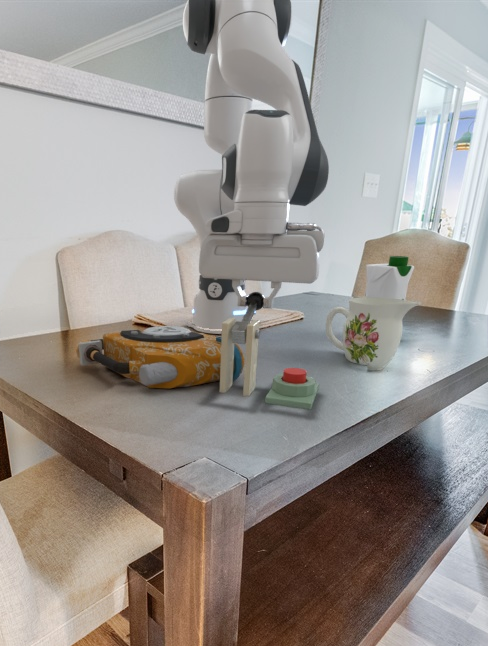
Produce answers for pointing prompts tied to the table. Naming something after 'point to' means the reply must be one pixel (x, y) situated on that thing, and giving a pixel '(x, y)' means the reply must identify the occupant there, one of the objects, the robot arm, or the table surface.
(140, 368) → the device
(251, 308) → the lever
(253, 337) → the bracket
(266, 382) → the table surface
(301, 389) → the button box
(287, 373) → the button
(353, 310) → the pitcher
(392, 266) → the milk carton
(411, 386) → the table surface
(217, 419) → the table surface
